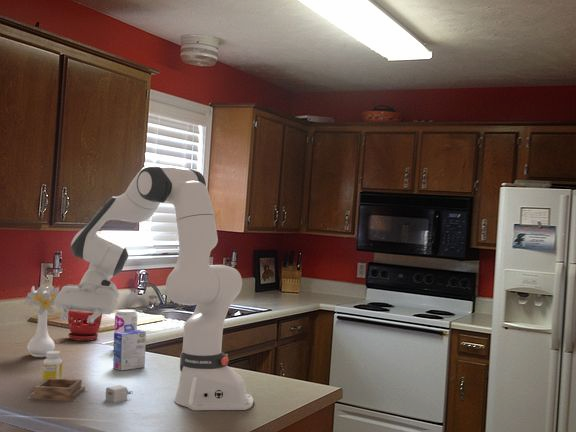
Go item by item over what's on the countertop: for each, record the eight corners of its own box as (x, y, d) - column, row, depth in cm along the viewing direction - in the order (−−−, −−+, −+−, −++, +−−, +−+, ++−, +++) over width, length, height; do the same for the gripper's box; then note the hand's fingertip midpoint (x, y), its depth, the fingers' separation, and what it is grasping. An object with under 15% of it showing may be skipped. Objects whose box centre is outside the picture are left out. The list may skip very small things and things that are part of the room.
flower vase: (30, 362, 233) (33, 289, 233) (16, 352, 248) (20, 283, 248) (68, 359, 240) (72, 288, 240) (53, 349, 255) (56, 282, 255)
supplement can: (119, 353, 255) (121, 312, 255) (109, 349, 261) (111, 309, 261) (139, 351, 260) (141, 311, 260) (129, 347, 267) (130, 308, 266)
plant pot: (95, 342, 272) (96, 312, 272) (62, 341, 272) (63, 310, 272) (104, 336, 285) (106, 308, 285) (73, 335, 285) (74, 306, 285)
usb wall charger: (105, 401, 193) (106, 387, 193) (125, 396, 198) (126, 383, 198) (113, 404, 190) (114, 390, 190) (134, 399, 195) (134, 385, 195)
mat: (88, 392, 201) (88, 390, 201) (76, 402, 190) (76, 401, 190) (40, 389, 201) (40, 388, 201) (25, 399, 190) (26, 398, 190)
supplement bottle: (54, 381, 211) (56, 349, 211) (64, 384, 208) (66, 352, 208) (38, 384, 207) (40, 351, 207) (48, 387, 203) (50, 354, 203)
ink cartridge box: (136, 364, 239) (138, 322, 239) (145, 367, 235) (147, 325, 235) (111, 368, 231) (113, 325, 231) (120, 371, 228) (122, 327, 228)
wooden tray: (84, 391, 200) (85, 380, 200) (73, 400, 190) (74, 388, 190) (43, 388, 200) (44, 377, 200) (30, 398, 190) (30, 386, 190)
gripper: (61, 278, 229) (43, 311, 219) (118, 283, 224) (102, 317, 215) (67, 290, 233) (50, 323, 224) (123, 295, 229) (108, 329, 219)
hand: (76, 320), depth 219 cm, fingers open, 8 cm apart
